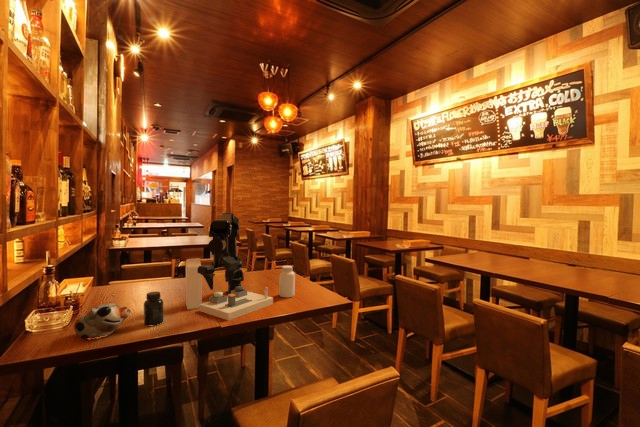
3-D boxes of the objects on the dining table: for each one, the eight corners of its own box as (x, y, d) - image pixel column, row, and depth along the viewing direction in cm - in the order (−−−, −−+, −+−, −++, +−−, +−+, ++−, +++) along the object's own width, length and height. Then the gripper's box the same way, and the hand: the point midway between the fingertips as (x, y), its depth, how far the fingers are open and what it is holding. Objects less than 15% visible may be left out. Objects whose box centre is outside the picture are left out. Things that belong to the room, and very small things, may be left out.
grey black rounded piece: (114, 323, 128) (129, 293, 127) (121, 344, 120) (138, 312, 119) (69, 323, 116) (85, 290, 115) (74, 346, 109) (92, 311, 107)
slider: (227, 305, 141) (227, 294, 140) (231, 303, 142) (231, 293, 142) (231, 306, 139) (231, 295, 139) (235, 304, 141) (235, 294, 141)
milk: (201, 307, 147) (201, 259, 146) (187, 309, 144) (187, 260, 143) (199, 303, 152) (199, 257, 151) (185, 305, 149) (185, 258, 148)
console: (200, 311, 142) (199, 292, 142) (245, 296, 164) (245, 280, 163) (228, 320, 131) (228, 300, 131) (273, 303, 153) (273, 286, 152)
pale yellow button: (212, 297, 145) (212, 293, 145) (219, 295, 148) (219, 291, 148) (217, 298, 143) (217, 294, 143) (224, 296, 146) (224, 292, 146)
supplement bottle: (141, 323, 128) (141, 293, 128) (160, 318, 133) (159, 289, 133) (147, 328, 123) (146, 296, 123) (166, 323, 128) (165, 293, 128)
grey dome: (233, 291, 155) (233, 287, 155) (239, 289, 158) (239, 285, 158) (238, 292, 153) (238, 288, 153) (244, 290, 156) (244, 286, 156)
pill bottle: (292, 298, 161) (292, 268, 161) (276, 297, 163) (277, 267, 162) (296, 293, 169) (296, 265, 169) (281, 292, 171) (282, 264, 170)
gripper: (214, 254, 123) (214, 295, 123) (251, 249, 138) (251, 285, 139) (196, 252, 129) (196, 291, 130) (233, 247, 144) (233, 281, 145)
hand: (220, 287), depth 135 cm, fingers open, 9 cm apart
